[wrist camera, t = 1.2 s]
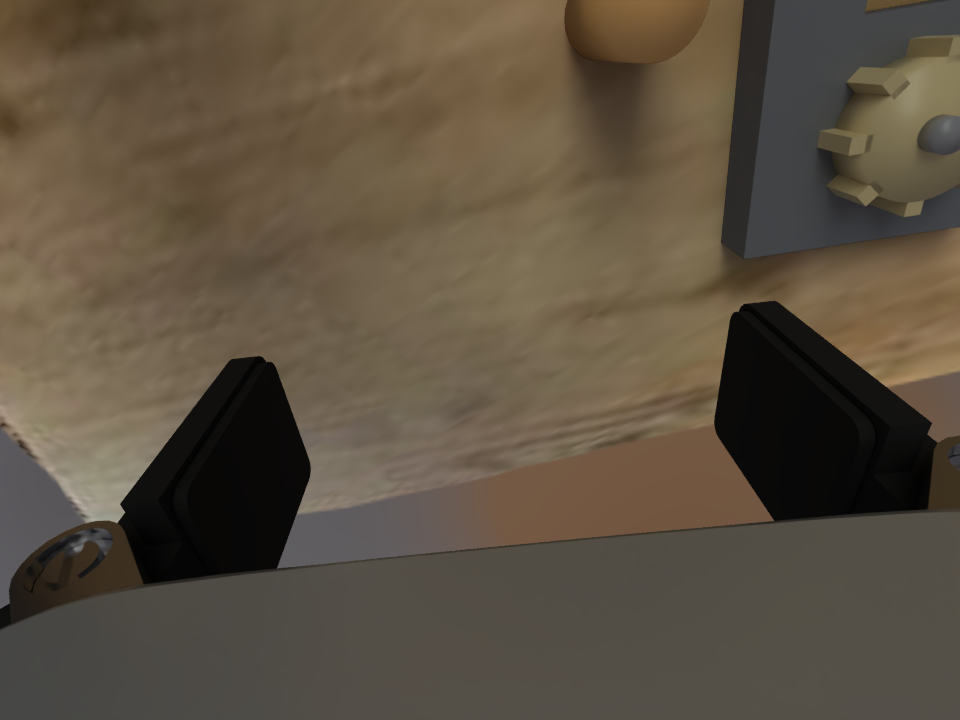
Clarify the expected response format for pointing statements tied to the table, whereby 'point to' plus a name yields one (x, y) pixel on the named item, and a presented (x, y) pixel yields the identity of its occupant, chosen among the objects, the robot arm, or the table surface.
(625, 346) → the table surface
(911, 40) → the housing
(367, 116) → the table surface
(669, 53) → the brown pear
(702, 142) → the table surface
